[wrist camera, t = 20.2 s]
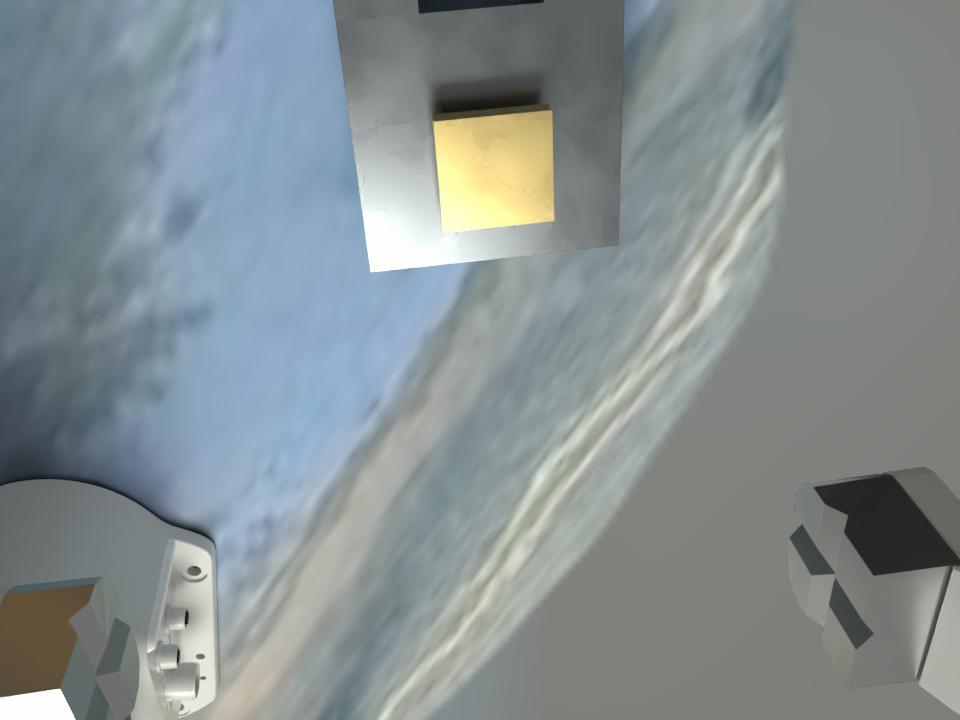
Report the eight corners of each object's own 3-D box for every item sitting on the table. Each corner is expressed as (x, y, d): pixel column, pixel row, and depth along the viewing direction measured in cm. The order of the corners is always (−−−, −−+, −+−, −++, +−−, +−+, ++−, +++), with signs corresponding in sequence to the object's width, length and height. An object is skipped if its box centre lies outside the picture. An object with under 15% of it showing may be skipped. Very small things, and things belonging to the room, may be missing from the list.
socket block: (591, 199, 49) (619, 245, 44) (368, 222, 48) (370, 272, 43) (593, -246, 38) (630, -254, 33) (307, -227, 37) (300, -231, 32)
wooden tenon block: (526, 164, 47) (554, 220, 40) (430, 174, 46) (443, 232, 40) (523, 66, 44) (552, 110, 38) (421, 75, 44) (433, 121, 37)
